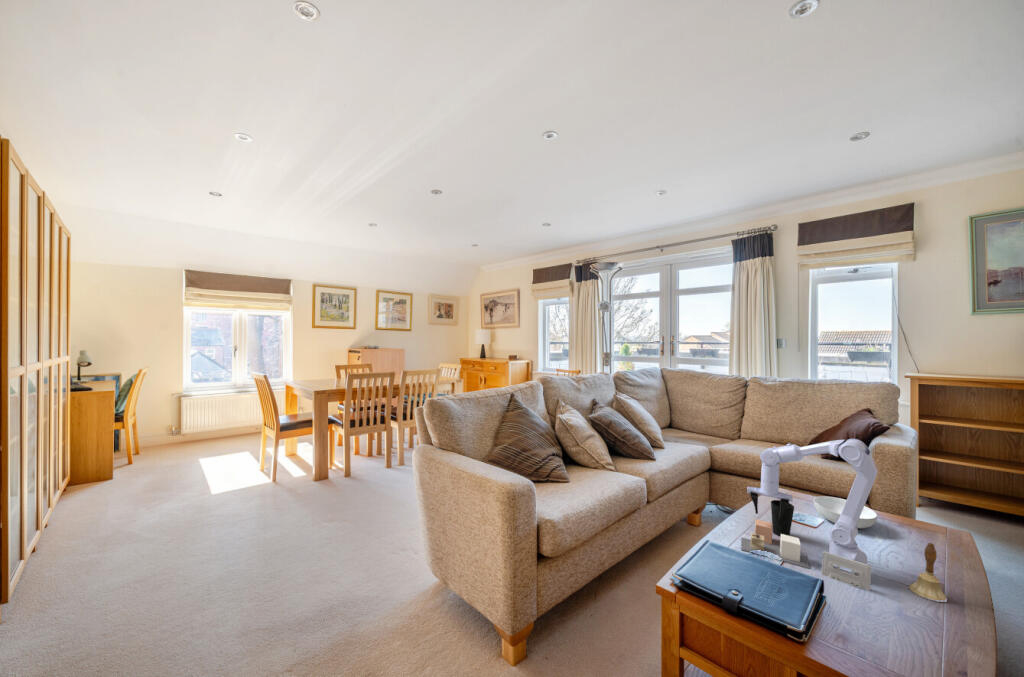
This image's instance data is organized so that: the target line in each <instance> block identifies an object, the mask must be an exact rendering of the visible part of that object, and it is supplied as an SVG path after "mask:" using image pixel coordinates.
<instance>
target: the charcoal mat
mask: <svg viewBox="0 0 1024 677" xmlns="http://www.w3.org/2000/svg"><path fill="white" fill-rule="evenodd" d="M740 539H741V541H740V542H741V544H740V545H741V546H740V551H742V552H746V553H749V552H750V551H753V550H756V549H752V548H751V538H750V539H749V538H745V537H741V538H740ZM764 551H767V552H771V553H773V554H775V555H778V556H779V557H780V558H782V559H781V560H782V561H784V562H783V563H787V564H790V565H794V566H798V567H801V568H805V569H808V570H809V569H810V566H809V562H808V557H807V555H806V553H803V552H800V562H798V561H794V560H790V559H787V558H783V557H781V554H780V546H776V545H773V544H768V543H764ZM782 561H781V562H782Z"/></svg>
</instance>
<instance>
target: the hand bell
mask: <svg viewBox="0 0 1024 677" xmlns="http://www.w3.org/2000/svg"><path fill="white" fill-rule="evenodd" d="M923 554H924V559H925V563H926V564H925V572H920V573H919V574H918V577H917V580H916V581H915V582H914V583H911V584H910V585H909V586H908V588H909V590H910V591H911V592H912V593H914V594H915V595H917V596H919V597H920V596H921V597H920V598H923V597H925V598H928V599H933V600H945V599H946V597H947V596H946V594H944V592H943V590H942V588H941V581H940V579H939V578H938V577H936V576H934V575H935V574H934V567H935V566H934V565H935V563H936V561H937V554H938V553H937V550H936V548H935V544H934V543H932V542H928V543H927V545H926V547H925V548H924V553H923ZM925 598H924V599H925Z"/></svg>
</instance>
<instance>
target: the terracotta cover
mask: <svg viewBox="0 0 1024 677" xmlns="http://www.w3.org/2000/svg"><path fill="white" fill-rule="evenodd" d="M754 534H758V535H762V536H764V543H765V544H769V545H773V528H772V522H769V521H765V520H760V519H757V518H755V520H754Z"/></svg>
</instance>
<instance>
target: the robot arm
mask: <svg viewBox="0 0 1024 677" xmlns="http://www.w3.org/2000/svg"><path fill="white" fill-rule="evenodd" d="M824 454H829V455H833V456H835V457H837V458H838V457H839V456H840V458H842V460H844V461H845V462H847V463H848V464H849V465H851V467H852V468H853V469H854V470H855V472H856V476H855V478H854V481H853V482H852V485H851V487H850V491H849V493H848V495H847V499H845V500H846V503H845V506H844V508H843V511H842V513H841V515H840V518H839V519H838V520H837V521H836V522H835V523H834V525H832V526H833V527H831V528H830V529H829V549H828V553H831V554H835V555H838V556H841V557H844V558H847V559H851V560H854V561H857V562H860V563H864V564H867V565H868V556H867V553H866V552H864V551H863V550H861V549H860V548H859V547H858V543H857V541H856V537H857V535H858V534H859V530H858V529H859V528H857V524H858V521H859V518H860V515H861V513H862V510H863V508H864V506H866V502H867V501H868V497H869V496H870V493H871V491H872V488H873V485H874V483H875V480H876V479H877V475H878V471H879V470H878V468H877V465H876V463H875V461H874V460H875V459H874V457H873V456H872V451H871V449H870V448H869V447H868V445H866V443H864V442H863V441H862V440H860V439H858V438H849V439H848V438H847V439H837V440H830V441H825V442H818V443H814V444H810V445H805V446H799V445H797V444H792V443H787V444H786V445H784V446H778V447H777V446H773V447H768V448H767V449H765V450H763V451H762V452H761V453H760V455H759V459H760V461H761V469H760V472H761V473H760V487H752V486H747V487H746V488H747V489H746V492H747V494H749V495H750V499H751V500H752V503H753V506H754V511H755V512H754V513H755V514H757V515H758V514H759V513H758V512H759V509H758V503H759V502H758V501H759V496H763V497H764V496H765V497H768V498H774V499H777V500H780V511H779V519H782V516H783V513H784V511H785V509H786V508H787V507H788V505H789V503H790V502H791V503H793V499H794V498H793V495H792V494H788V493H784V492H781V491H779V487H780V486H779V485H780V484H779V482H780V464H785V463H792V462H800V461H802V460H803V458H804V457H806V456H814V455H815V456H816V455H824ZM834 566H835V567H838V566H837V565H834ZM840 569H843V570H846V571H849V572H852V570H851V569H847V568H844V567H841V566H840ZM855 573H856V574H858V572H855Z"/></svg>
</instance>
